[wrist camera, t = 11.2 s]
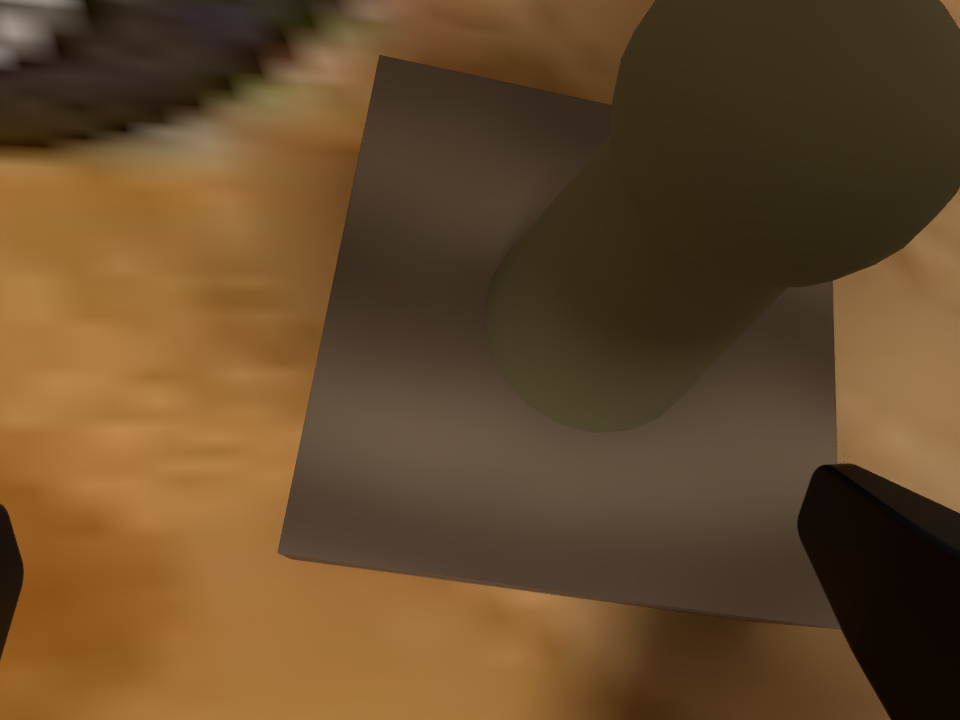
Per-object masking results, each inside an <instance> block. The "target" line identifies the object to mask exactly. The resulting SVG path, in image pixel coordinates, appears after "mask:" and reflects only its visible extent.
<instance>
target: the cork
mask: <svg viewBox="0 0 960 720" xmlns="http://www.w3.org/2000/svg"><path fill="white" fill-rule="evenodd" d="M609 129H610V135H609V136H608V137H607V139H606V140H605V141H604V142H603V143H602V144H601V146H600V147H599V148H598V149H597V150H596V151H595V153H594V154H593V155H592V156H591V157H590V158H589V160H588V161H587V162H586V163H585V164H584V165H583V167H582V168H581V169H580V170H579V171H578V172H577V174H576V175H575V176H574V177H573V178H572V179H571V181H570V182H569V183H568V184H567V185H566V186H565V188H564V189H563V190H562V191H561V192H560V193H559V195H558V196H557V197H556V198H555V199H554V200H553V201H552V203H551V204H550V205H549V206H548V207H547V208H546V210H545V211H544V212H543V213H542V214H541V215H540V217H539V218H538V219H537V220H536V221H535V222H534V224H533V225H532V226H531V227H530V228H529V229H528V231H527V232H526V233H525V234H524V235H523V236H522V238H521V239H520V240H519V241H518V242H517V243H516V245H515V246H514V247H513V248H512V249H511V250H510V252H509V253H508V255H507V256H506V258H505V259H504V261H503V262H502V264H501V265H500V267H499V268H498V270H497V271H496V273H495V274H494V276H493V278H492V282H491V286H490V290H489V294H488V298H487V302H486V307H485V315H486V326H487V336H488V344H489V346H490V348H491V351H492V353H493V355H494V358H495V360H496V362H497V365H498V367H499V369H500V371H501V374H502V376H503V377H504V378H505V379H506V381H507V382H508V383H509V384H510V385H511V386H512V387H513V389H514V390H515V391H516V392H517V393H518V394H519V396H520V397H521V398H522V399H523V400H524V401H525V403H526V404H528V405H529V406H531V407H533V408H534V409H536V410H537V411H539V412H541V413H542V414H544V415H545V416H547V417H548V418H550V419H552V420H553V421H555V422H556V423H558V424H562V425H566V426H569V427H573V428H577V429H581V430H584V431H588V432H592V433H597V432H615V431H628V430H631V429H633V428H636V427H638V426H640V425H643V424H645V423H648V422H650V421H653V420H655V419H657V418H659V417H660V416H661V415H662V414H663V413H665V412H666V411H667V410H668V409H669V408H670V407H671V406H672V405H673V404H674V403H675V402H677V401H678V400H679V399H680V398H681V397H682V396H683V395H684V394H685V393H686V392H687V391H688V390H689V389H690V388H691V387H692V386H693V385H694V384H695V383H696V382H697V381H698V380H699V379H700V378H701V377H702V375H703V374H704V373H705V372H706V371H707V370H708V369H709V368H710V367H711V366H712V365H713V364H714V363H715V362H716V361H717V360H718V359H719V358H720V357H721V356H722V355H723V354H724V353H725V352H726V351H727V350H728V349H729V348H730V347H731V346H732V345H733V344H734V343H735V342H736V341H737V340H738V339H739V338H740V337H741V335H742V334H743V333H744V332H745V331H746V330H747V329H748V328H749V327H750V326H751V325H752V324H753V323H754V322H755V321H756V320H757V319H758V318H759V317H760V316H761V315H762V314H763V313H764V312H765V311H766V310H767V309H768V308H769V307H770V306H771V305H772V304H773V303H774V302H775V301H776V300H777V299H778V298H779V296H780V295H781V294H782V293H783V292H784V291H785V290H786V289H787V288H788V287H808V286H812V285H816V284H821V283H825V282H829V281H833V280H836V279H838V278H841V277H844V276H846V275H849V274H851V273H854V272H857V271H859V270H862V269H864V268H867V267H870V266H872V265H875V264H877V263H878V262H880V261H882V260H883V259H885V258H887V257H889V256H890V255H892V254H894V253H895V252H897V251H899V250H900V249H902V248H904V247H905V246H906V245H907V244H908V243H909V242H910V241H911V240H912V239H913V238H914V237H915V236H916V235H917V234H918V233H919V232H920V231H921V230H922V229H923V228H925V227H926V226H927V225H928V224H929V223H930V222H931V221H932V220H933V219H934V218H935V217H936V216H937V215H938V214H939V212H940V211H941V210H942V209H943V208H944V207H945V206H946V204H947V203H948V202H949V201H950V200H951V199H952V198H953V196H954V195H955V194H956V193H957V191H958V189H959V187H960V29H959V28H958V26H957V24H956V23H955V21H954V20H953V18H952V17H951V15H950V14H949V12H948V11H947V9H946V8H945V6H944V5H943V4H942V3H941V2H940V1H939V0H655V2H654V3H653V5H652V6H651V8H650V9H649V11H648V12H647V14H646V15H645V17H644V18H643V20H642V21H641V22H640V24H639V25H638V27H637V28H636V30H635V31H634V33H633V35H632V38H631V40H630V42H629V44H628V46H627V48H626V50H625V52H624V54H623V56H622V58H621V63H620V67H619V72H618V77H617V82H616V87H615V92H614V97H613V102H612V109H611V117H610V124H609Z"/></svg>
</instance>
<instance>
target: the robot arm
mask: <svg viewBox="0 0 960 720" xmlns="http://www.w3.org/2000/svg"><path fill="white" fill-rule="evenodd" d="M797 530H798V534H799V538H800V540H801V542H802V545H803V547H804V549H805V551H806V553H807V556H808V558H809V560H810V562H811V564H812V567H813V569H814V571H815V573H816V575H817V577H818V580H819V582H820V584H821V586H822V588H823V591H824V593H825V595H826V597H827V599H828V601H829V604H830V606H831V608H832V610H833V612H834V615H835V617H836V619H837V621H838V623H839V625H840V628H841V630H842V632H843V634H844V636H845V638H846V640H847V642H848V644H849V646H850V648H851V650H852V652H853V654H854V656H855V658H856V659H857V661H858V663H859V665H860V667H861V668H862V670H863V672H864V674H865V675H866V677H867V679H868V681H869V682H870V684H871V686H872V687H873V689H874V691H875V693H876V694H877V696H878V698H879V700H880V701H881V703H882V705H883V706H884V708H885V710H886V712H887V713H888V715H889V717H890V719H891V720H960V513H958V512H956V511H954V510H951V509H949V508H947V507H945V506H943V505H941V504H939V503H936V502H934V501H932V500H930V499H928V498H926V497H924V496H921V495H919V494H917V493H915V492H913V491H911V490H909V489H906V488H904V487H902V486H900V485H898V484H896V483H893V482H891V481H889V480H887V479H885V478H883V477H881V476H878V475H876V474H874V473H872V472H870V471H868V470H866V469H863V468H861V467H859V466H857V465H854V464H825V465H821V466H819V467H818V468H817V469H816V470H815V471H814V472H813V474H812V476H811V479H810V482H809V485H808V488H807V491H806V494H805V497H804V500H803V502H802V505H801V508H800V511H799V514H798V518H797ZM23 575H24V570H23V562H22V558H21V555H20V551H19V548H18V545H17V541H16V538H15V534H14V531H13V527H12V524H11V521H10V517H9V514H8V512H7V510H6V508H5V507H4V506H3V505H2V504H0V659H1V656H2V653H3V649H4V646H5V643H6V639H7V636H8V632H9V629H10V626H11V622H12V619H13V615H14V612H15V609H16V605H17V602H18V599H19V595H20V592H21V588H22V584H23Z"/></svg>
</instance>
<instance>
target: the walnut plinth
mask: <svg viewBox="0 0 960 720" xmlns="http://www.w3.org/2000/svg"><path fill="white" fill-rule="evenodd" d="M611 109H612V105H608V104H603V103H599V102H594V101H590V100H585V99H580V98H576V97H571V96H566V95H562V94H557V93H553V92H548V91H543V90H539V89H534V88H530V87H525V86H520V85H516V84H511V83H507V82H502V81H497V80H493V79H488V78H483V77H479V76H474V75H470V74H465V73H460V72H456V71H451V70H447V69H442V68H437V67H433V66H428V65H423V64H419V63H414V62H410V61H405V60H400V59H396V58H391V57H387V56H382V55H379V60H378V65H377V70H376V75H375V80H374V85H373V89H372V94H371V99H370V104H369V109H368V114H367V119H366V124H365V129H364V133H363V138H362V143H361V148H360V153H359V158H358V163H357V168H356V172H355V177H354V182H353V187H352V192H351V197H350V202H349V207H348V211H347V216H346V221H345V226H344V231H343V236H342V241H341V246H340V251H339V255H338V260H337V265H336V270H335V275H334V280H333V285H332V290H331V294H330V299H329V304H328V309H327V314H326V319H325V324H324V329H323V334H322V338H321V343H320V348H319V353H318V358H317V363H316V368H315V373H314V377H313V382H312V387H311V392H310V397H309V402H308V407H307V412H306V416H305V421H304V426H303V431H302V436H301V441H300V446H299V451H298V456H297V460H296V465H295V470H294V475H293V480H292V485H291V490H290V495H289V499H288V504H287V509H286V514H285V519H284V524H283V529H282V534H281V539H280V543H279V548H278V553H279V554H281V555H284V556H286V557H288V558H290V559H294V560H302V561H309V562H317V563H324V564H331V565H339V566H346V567H354V568H361V569H368V570H376V571H383V572H391V573H398V574H406V575H413V576H420V577H428V578H435V579H443V580H450V581H457V582H465V583H472V584H480V585H487V586H494V587H502V588H509V589H517V590H524V591H531V592H539V593H546V594H554V595H561V596H569V597H576V598H583V599H591V600H598V601H606V602H613V603H620V604H628V605H635V606H643V607H650V608H657V609H665V610H672V611H680V612H687V613H695V614H702V615H709V616H717V617H724V618H732V619H739V620H746V621H754V622H762V623H774V624H786V625H797V626H809V627H821V628H833V629H841V628H840V625H839V623H838V621H837V619H836V617H835V615H834V612H833V610H832V608H831V606H830V604H829V601H828V599H827V597H826V595H825V593H824V591H823V588H822V586H821V584H820V582H819V580H818V577H817V575H816V573H815V571H814V569H813V567H812V564H811V562H810V560H809V558H808V556H807V553H806V551H805V549H804V547H803V545H802V542H801V540H800V538H799V534H798V530H797V518H798V514H799V511H800V508H801V505H802V502H803V500H804V497H805V494H806V491H807V488H808V485H809V482H810V479H811V476H812V474H813V472H814V471H815V470H816V469H817V468H818V467H819V466H821V465H825V464H837V430H836V393H835V356H834V320H833V283H832V281H829V282H825V283H821V284H816V285H812V286H808V287H788V288H787V289H786V290H785V291H784V292H783V293H782V294H781V295H780V296H779V298H778V299H777V300H776V301H775V302H774V303H773V304H772V305H771V306H770V307H769V308H768V309H767V310H766V311H765V312H764V313H763V314H762V315H761V316H760V317H759V318H758V319H757V320H756V321H755V322H754V323H753V324H752V325H751V326H750V327H749V328H748V329H747V330H746V331H745V332H744V333H743V334H742V335H741V337H740V338H739V339H738V340H737V341H736V342H735V343H734V344H733V345H732V346H731V347H730V348H729V349H728V350H727V351H726V352H725V353H724V354H723V355H722V356H721V357H720V358H719V359H718V360H717V361H716V362H715V363H714V364H713V365H712V366H711V367H710V368H709V369H708V370H707V371H706V372H705V373H704V374H703V375H702V377H701V378H700V379H699V380H698V381H697V382H696V383H695V384H694V385H693V386H692V387H691V388H690V389H689V390H688V391H687V392H686V393H685V394H684V395H683V396H682V397H681V398H680V399H679V400H678V401H677V402H675V403H674V404H673V405H672V406H671V407H670V408H669V409H668V410H667V411H666V412H665V413H663V414H662V415H661V416H660V417H659V418H657V419H655V420H653V421H650V422H648V423H645V424H643V425H640V426H638V427H636V428H633V429H631V430H628V431H615V432H597V433H592V432H588V431H584V430H581V429H577V428H573V427H569V426H566V425H562V424H558V423H556V422H555V421H553V420H552V419H550V418H548V417H547V416H545V415H544V414H542V413H541V412H539V411H537V410H536V409H534V408H533V407H531V406H529V405H528V404H526V403H525V401H524V400H523V399H522V398H521V397H520V396H519V394H518V393H517V392H516V391H515V390H514V389H513V387H512V386H511V385H510V384H509V383H508V382H507V381H506V379H505V378H504V377H503V376H502V374H501V371H500V369H499V367H498V365H497V362H496V360H495V358H494V355H493V353H492V351H491V348H490V346H489V344H488V336H487V326H486V315H485V307H486V302H487V298H488V294H489V290H490V286H491V282H492V278H493V276H494V274H495V273H496V271H497V270H498V268H499V267H500V265H501V264H502V262H503V261H504V259H505V258H506V256H507V255H508V253H509V252H510V250H511V249H512V248H513V247H514V246H515V245H516V243H517V242H518V241H519V240H520V239H521V238H522V236H523V235H524V234H525V233H526V232H527V231H528V229H529V228H530V227H531V226H532V225H533V224H534V222H535V221H536V220H537V219H538V218H539V217H540V215H541V214H542V213H543V212H544V211H545V210H546V208H547V207H548V206H549V205H550V204H551V203H552V201H553V200H554V199H555V198H556V197H557V196H558V195H559V193H560V192H561V191H562V190H563V189H564V188H565V186H566V185H567V184H568V183H569V182H570V181H571V179H572V178H573V177H574V176H575V175H576V174H577V172H578V171H579V170H580V169H581V168H582V167H583V165H584V164H585V163H586V162H587V161H588V160H589V158H590V157H591V156H592V155H593V154H594V153H595V151H596V150H597V149H598V148H599V147H600V146H601V144H602V143H603V142H604V141H605V140H606V139H607V137H608V136H609V135H610V129H609V124H610V117H611Z"/></svg>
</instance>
